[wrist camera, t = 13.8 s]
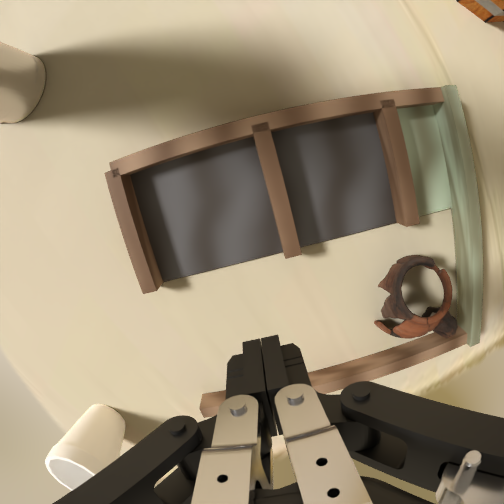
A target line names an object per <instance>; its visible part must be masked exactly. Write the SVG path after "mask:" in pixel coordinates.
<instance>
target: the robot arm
mask: <svg viewBox="0 0 504 504" xmlns="http://www.w3.org/2000/svg"><path fill="white" fill-rule="evenodd" d="M45 80H46V71H45V67H44V64H43V62H42V61H41V60H40V59H39V58H37V57H35V56H33V55H31V54H28V53H26V52H24V51H21V50H19V49H17V48H14V47H12V46H9V45H7V44H4V43H2V42H0V124H1V123H2V122H6V123H16V122H19V121H21V120H23V119H24V118H26V117H27V116H28V115H29V114H30V113H31V112H32V111H33V109H34V108H35V107H36V105H37V103H38V102H39V100H40V98H41V95H42V93H43V90H44V86H45ZM261 342H262V345H261ZM276 425H277V428H278V432H279V435H282V434H283V436H284V439H285V444H286V447H287V451H288V455H289V458H290V462H291V466H292V469H293V472H294V476H295V480H296V483H293V484H291V485H288V486H286V487H283V488H280V489H275V490H273V451H272V439H271V437H272V436H277V428H276ZM351 458H353V459H355V460H357V461H359V462H361V463H363V464H366V465H368V466H370V467H372V468H375V469H377V470H379V471H382V472H384V473H386V474H389V475H391V476H394V477H396V478H399V479H401V480H403V481H406V482H409V483H411V484H414V485H417V486H419V487H422V488H425V489H427V490H430V491H433V492H436V499H437V502H438V503H439V504H504V418H500V417H496V416H491V415H487V414H483V413H479V412H475V411H470V410H467V409H463V408H459V407H455V406H451V405H447V404H444V403H440V402H436V401H433V400H429V399H426V398H422V397H419V396H415V395H412V394H409V393H405V392H402V391H399V390H395V389H392V388H389V387H386V386H383V385H379V384H376V383H373V382H369V381H359V382H355V383H352V384H350V385H348V386H347V387H345V388H344V389H343V391H342V392H341V395H326V394H322V393H319V392H317V391H316V390H315V389H314V388H313V387H312V385H311V382H310V379H309V376H308V373H307V370H306V366H305V363H304V360H303V357H302V354H301V351H300V348H298V347H297V346H296V345H294V344H293V343H291V344H287V345H283V346H280V342H279V337H278V335H274V336H270V337H265V338H261V341H260V339H256V340H251V341H246V342H243V354H239V355H234V356H232V357H231V359H230V360H229V362H228V363H227V381H226V400H225V401H224V402H222V403H221V405H220V406H219V409H218V413H217V415H215V416H214V417H212V418H210V419H207V420H204V421H201V422H199V423H197V422H196V420H195V419H194V418H192V417H190V416H176V417H173V418H171V419H169V420H167V421H166V422H164V423H163V424H162V425H161V426H159V427H158V428H157V429H155V430H154V431H153V432H152V433H150V434H149V435H148V436H147V437H145V438H144V439H143V440H141V441H140V442H139V443H137V444H136V445H135V446H134V447H132V448H131V449H130V450H128V451H127V452H126V453H124V454H123V455H122V456H120V457H119V458H118V459H116V460H115V461H113V462H112V463H111V464H109V465H108V466H107V467H105V468H104V469H103V470H101V471H100V472H98V473H97V474H96V475H94V476H93V477H91V478H90V479H88V480H87V481H86V482H84V483H83V484H81V485H80V486H78V487H77V488H75V489H74V490H72V491H71V492H70V493H68V494H67V495H65V496H64V497H62V498H61V499H59V500H58V501H56V502H54V503H53V504H434V503H432V502H429V501H427V500H424V499H422V498H420V497H417V496H415V495H412V494H410V493H408V492H406V491H403V490H401V489H399V488H397V487H394V486H392V485H390V484H388V483H386V482H383V481H381V480H378V479H375V478H370V477H363V476H359V474H358V471H357V469H356V467H355V465H354V463H353V461H352V459H351ZM176 465H177V466H178V468H177V469H176V470H175V471H174V472H173V473H171V474H170V475H169V476H168V477H167V478H166V479H164V480H163V481H162V482H161V483H160V484H158V485H157V486H156V487H155V488H154V486H155V484H156V482H157V481H158V480H159V479H160V478H162V477H163V476H164V475H165V474H166V473H167V472H169V471H170V470H171V469H172V468H173V467H174V466H176Z"/></svg>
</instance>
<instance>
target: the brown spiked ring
mask: <svg viewBox="0 0 504 504" xmlns="http://www.w3.org/2000/svg"><path fill="white" fill-rule="evenodd" d="M417 265H423V266H425V267H427V268H429V269H433V270H434V271H435V272H436V273H437V275H438V276H439V278H440V280H441V282H442V285H443V289H444V299H443V303H442V306H441V307H438V308H436V307H428V308H427V310H426V312H425V313H424V314H423V316H422V317H420V316H417V315H415V314H413V313H412V312H411V311H410V310H409V309H408V308H407V306H406V304H405V302H404V300H403V297H402V291H401V287H402V282H403V278H404V276H405V274H406V272H407V271H408V270H409V269H410V268H412V267H414V266H417ZM378 287H381V288H383V289H384V290H386V291H388V292H389V293H390V294H391V295H390V296H389V297H387V298H386V300H385V302H384V306H383V308H382V309H381V312H382V316H383V317H384V318H388V317H391V318H399V319H405V320H404V321H403V322H402V323H401V324H399V325H397V326H395V327H394V328H393V329H389V328H387V327H386V326H385V325H384V324H383V323H382V322H379V321H377V320H376V321H375V322H374V323H375V325H376V326H378V327H379V328H380V329H381V330H383V331H384V332H386V333H388V334H390V335H392V336H395V337H400V338H414V337H420V336H422V335H425V334H426V333H427V332H430V331H432V330H433V331H434V332H435V333H437V334H439V335H440V336H442V337H445V338H450V337H452V336H454V335H455V334H456V330H457V328H458V325H457V321H456V319H455V318H454V317H453V316H452V315H451V314H450V313H449V311H448V310H449V308H450V305H451V301H452V285H451V281H450V277H449V275H448V274H447V272H446V270H445V269H441V270H440V269H439V268H438V267H437V266H436V265H435V262H434V260H433V259H432V258H429V257H422V256H420V255H411V256H406V257H403V258H401V259H399V260H397V264H393V265H392V267H391V268H390V270H389V272H388V274H387V275H386V277H385V278H384V279H383V280H382V281H381V282H380V284H379V285H378Z"/></svg>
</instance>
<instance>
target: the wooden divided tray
mask: <svg viewBox="0 0 504 504" xmlns="http://www.w3.org/2000/svg"><path fill="white" fill-rule="evenodd" d="M109 164H110V167H111V171H108V172H106V173H105V177H106V180H107V184H108V188H109V191H110V195H111V198H112V202H113V205H114V209H115V212H116V215H117V219H118V222H119V225H120V228H121V232H122V235H123V238H124V241H125V244H126V247H127V250H128V253H129V256H130V259H131V262H132V265H133V268H134V270H135V273H136V276H137V279H138V282H139V284H140V287H141V290H142V292H143V294H146V293H150V292H154V291H157V290H158V288H159V287H160V286H161V284H162V283H163V282H165V281H169V280H173V279H177V278H181V277H185V276H189V275H193V274H197V273H201V272H205V271H209V270H213V269H217V268H221V267H225V266H229V265H233V264H237V263H241V262H245V261H249V260H253V259H257V258H261V257H265V256H269V255H272V254H276V253H280V252H283V253H284V256H285V258H286V259H287V258H290V257H294V256H298V255H302V254H301V249H300V247H304V246H308V245H311V244H315V243H319V242H323V241H327V240H331V239H335V238H339V237H342V236H346V235H350V234H354V233H358V232H362V231H365V230H369V229H373V228H377V227H381V226H385V225H388V224H392V223H396V222H397V223H399V224H401V225H404V226H406V227H408V226H412V225H415V224H419V223H420V222H419V216H423V215H426V214H430V213H434V212H438V211H441V210H445V209H449V208H451V211H452V219H453V229H454V241H455V256H456V280H457V318H456V321H457V325H458V328H457V330H456V334H455V335H454V336H452V337H450V338H445V337H442V336H440V335H439V334H437V333H435V332H434V333H432V334H429V335H427V336H424V337H421V338H419V339H416V340H413V341H410V342H408V343H405V344H402V345H399V346H396V347H393V348H390V349H387V350H384V351H381V352H378V353H375V354H372V355H369V356H366V357H363V358H359V359H356V360H353V361H349V362H346V363H342V364H339V365H335V366H332V367H328V368H324V369H321V370H317V371H313V372H309V373H308V376H309V379H310V382H311V385H312V387H313V388H314V389H315V390H316V391H317V392H319V393H322V394H326V393H330V392H333V391H337V390H340V389H344V388H345V387H347V386H348V385H350V384H352V383H355V382H359V381H370V380H373V379H377V378H380V377H383V376H386V375H388V374H391V373H394V372H397V371H400V370H403V369H405V368H408V367H411V366H413V365H416V364H419V363H421V362H424V361H426V360H429V359H431V358H434V357H436V356H439V355H441V354H444V353H446V352H448V351H451V350H453V349H455V348H458V347H460V346H462V345H464V344H466V343H467V344H468V345H469V346H470V347H471V346H474V345H476V344H478V343H480V332H481V320H482V301H483V246H482V228H481V215H480V204H479V195H478V187H477V180H476V173H475V166H474V160H473V155H472V149H471V144H470V139H469V134H468V130H467V125H466V121H465V117H464V113H463V109H462V105H461V101H460V97H459V94H458V90H457V87H456V85H448V86H443V87H437V88H423V89H411V90H400V91H391V92H382V93H374V94H367V95H360V96H353V97H346V98H340V99H334V100H328V101H323V102H317V103H312V104H307V105H302V106H297V107H292V108H287V109H283V110H278V111H274V112H270V113H265V114H261V115H257V116H253V117H249V118H245V119H241V120H237V121H234V122H230V123H226V124H223V125H219V126H216V127H212V128H209V129H205V130H202V131H199V132H195V133H192V134H189V135H186V136H183V137H179V138H176V139H173V140H170V141H167V142H164V143H161V144H159V145H156V146H153V147H150V148H147V149H144V150H142V151H139V152H136V153H133V154H131V155H128V156H125V157H123V158H120V159H118V160H115V161H113V162H110V163H109ZM225 400H226V390H225V391H219V392H213V393H207V394H202V399H201V404H200V411H201V413H202V415H203V417H204V418H205V417H212V416H215V415H217V413H218V409H219V406H220V405H221V403H222V402H224V401H225Z"/></svg>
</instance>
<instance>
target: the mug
mask: <svg viewBox="0 0 504 504" xmlns="http://www.w3.org/2000/svg"><path fill="white" fill-rule="evenodd" d="M457 2H459V3H460V4H461V5H463V6H464V7H466V8H467V9H468V10H470V11H471V12H472V13H474V14H475V15H476V16H478V17H479V18H480V19H481V20H483V21H484V22H485V23H486V22H501V21H504V0H457Z"/></svg>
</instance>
